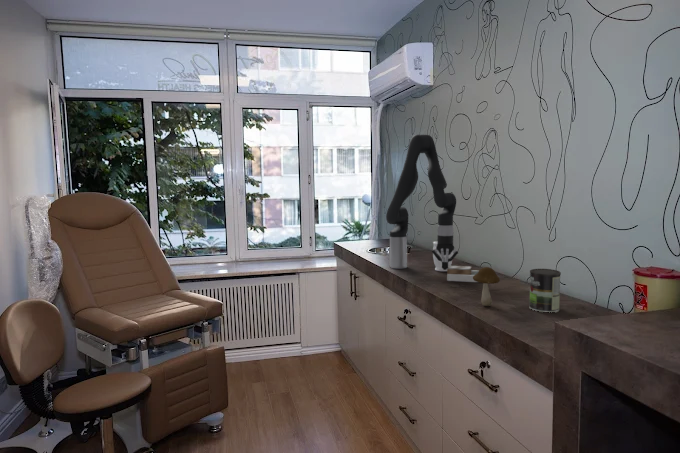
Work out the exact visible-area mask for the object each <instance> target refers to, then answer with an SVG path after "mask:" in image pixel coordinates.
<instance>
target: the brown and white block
mask: <svg viewBox="0 0 680 453" xmlns="http://www.w3.org/2000/svg"><path fill="white" fill-rule="evenodd" d="M471 270H472V266H469V265H464V266H463V265H451V266H449V267H448V269H447V271H446V273H447V274H460V275H471ZM447 274H446V275H447Z"/></svg>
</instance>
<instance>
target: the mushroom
mask: <svg viewBox="0 0 680 453" xmlns="http://www.w3.org/2000/svg"><path fill="white" fill-rule="evenodd" d="M478 271H479V272H478V273H477V274H476V275H474V276H473V279H474V281H477V282H476V283H481V284H482V292H481V300H480V301H481V305H482V306H483V307H490V306H491V305H492V302H493V301H492V300H493V299H492V297H491V293H490V289H489V285H492V284H493V285H494V284H498V283H499V282H500V281H501V279H500V277H499V276H498V274H497V273H496V271H495V270H494V269H493V268H491V267H489V266H488V267H487V266H485V267H481V268H480V269H479V270H478Z"/></svg>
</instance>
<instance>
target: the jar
mask: <svg viewBox="0 0 680 453" xmlns="http://www.w3.org/2000/svg"><path fill="white" fill-rule="evenodd" d="M432 244H433V248H432V251H433V250H434V249H436V247H437V241H435V240H434V241H432ZM437 251H438V250H437ZM437 253H438V255H439V256H440V257H441V254H440V253H439V252H437ZM452 255H453V251H452V252H451V254H450V255H449V258H451V257H452ZM432 258H433V263H434V266H435V268H434V270H435V271H437V272H447V270H443V268H442V262H441V261H439V260H438V259H437V258H436V256H435V255H434V254H433V253H432ZM441 258H442V257H441ZM445 260H446V255H445ZM452 262H453V260H452V261H449V262H448V267H449V266H452Z"/></svg>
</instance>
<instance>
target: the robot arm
mask: <svg viewBox="0 0 680 453" xmlns="http://www.w3.org/2000/svg"><path fill="white" fill-rule="evenodd" d="M406 153H407V154H406V157H405V160H404V161H405V162H404V164H403V168H402V170H401V174H400V176H399V179H398V182H397V186H396V189H395V191H394V194H393V197H392V199H391V202H390V204H389V206H388V208H387V211H386V215H385V217H386V218H385V219H386V222H387V223H388V224H389V225H395V227H394V228H393V229H391V230H390V231H389V249H388V267H390V269H395V270H396V269H397V270H398V269H400V270H401V269H407V267H408V248H407V246H408V242H407V239H408V236H407V235H408V234H407V233H408V232H409V212H408V210H407V208H406V207H405V206H402V205H403V204H404V202H405V201H406V200H407V199H408V198H409V197H410V196H411V194H413V192H414V190H415V189H416V186H417V184H418V181H419V172H418V167H417V163H418V159H419V156H420V155H421V154H425V155H424V156H426V159H427V163H428V166H427V167H428V168H427V176H428V177H427V178H428V180H429V182H430V184H431V188H432V194H433V201H434V204H435V205H436V206H437V207H438V208H439V209H443V210H442V212H440V213H439V214H438V215H437V229H436V230H437V237H436V238H437V247H436V249H434V250H433V249H432V251H431V253H432V255H433V254H434V255H435V256H436V258H437V259H438V260H439V261H441V262H442V268H443V270H447V269H448V262H449V261H452V262H453V259H454V258H455V257H456V256H457V255H458V254H459V250H457V249H455V246H454V235H455V234H454V232H455V231H454V215H455V211H456V206H457V198H456V195H455V194H454V193H452V192H445V189H446V188H447V186H448V184H447V183H448V182H447V181H446V178H445V176H444V173H443V171H442V168H441V165H440V161H439V157H438V153H437V148H436V145H435V140H434V138H433V137H432V135H430V134H421V133H420V134H414V135H413V136H412V137H411V139H410V141H409V143H408V148H407V152H406ZM437 250H438V251H437ZM452 251H453V255H452V257H451V258H449V255H450V254H451V252H452ZM437 252H439V253H440V254H441V257H442V258H441V257H440V256H439V255H438V253H437ZM445 255H446V260H445Z"/></svg>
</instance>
